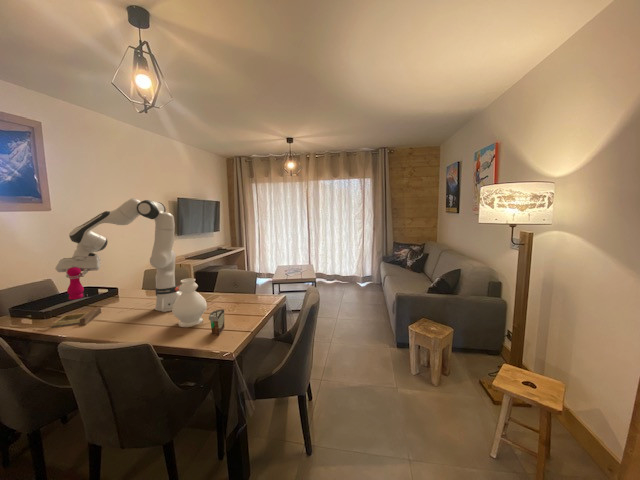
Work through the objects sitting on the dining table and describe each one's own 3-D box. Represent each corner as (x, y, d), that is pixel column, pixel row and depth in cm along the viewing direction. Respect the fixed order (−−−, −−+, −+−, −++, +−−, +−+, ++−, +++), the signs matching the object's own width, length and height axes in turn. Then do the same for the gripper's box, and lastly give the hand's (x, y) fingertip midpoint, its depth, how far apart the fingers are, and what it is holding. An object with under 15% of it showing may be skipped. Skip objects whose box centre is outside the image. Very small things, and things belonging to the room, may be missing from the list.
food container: (213, 326, 143) (212, 309, 142) (225, 326, 144) (224, 308, 143) (206, 337, 131) (204, 318, 130) (218, 336, 131) (217, 317, 130)
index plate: (91, 315, 162) (91, 311, 162) (80, 323, 150) (80, 319, 150) (65, 318, 158) (64, 315, 157) (51, 327, 145) (51, 323, 145)
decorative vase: (202, 327, 142) (200, 283, 140) (167, 330, 139) (164, 285, 137) (211, 315, 160) (208, 275, 157) (180, 317, 157) (177, 277, 154)
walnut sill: (101, 312, 167) (100, 306, 166) (85, 325, 148) (84, 318, 147) (96, 313, 166) (96, 307, 165) (80, 325, 147) (79, 319, 147)
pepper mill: (74, 300, 149) (71, 266, 147) (64, 299, 151) (61, 265, 149) (87, 296, 156) (85, 263, 154) (78, 295, 158) (75, 263, 156)
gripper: (58, 255, 155) (49, 274, 147) (100, 253, 162) (93, 272, 154) (63, 261, 160) (54, 280, 151) (103, 259, 167) (97, 278, 158)
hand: (74, 276), depth 153 cm, fingers closed on pepper mill, 5 cm apart
